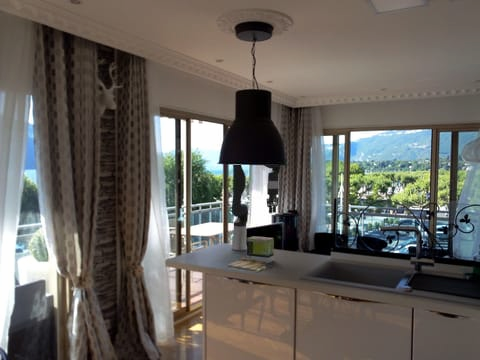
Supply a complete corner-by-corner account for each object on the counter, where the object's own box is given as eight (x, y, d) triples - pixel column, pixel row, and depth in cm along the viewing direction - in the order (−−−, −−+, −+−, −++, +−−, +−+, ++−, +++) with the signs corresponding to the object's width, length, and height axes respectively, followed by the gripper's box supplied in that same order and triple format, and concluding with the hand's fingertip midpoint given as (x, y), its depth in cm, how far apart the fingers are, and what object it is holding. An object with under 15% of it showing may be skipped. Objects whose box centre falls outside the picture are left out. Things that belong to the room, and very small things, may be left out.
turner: (259, 272, 228) (259, 270, 228) (253, 271, 230) (253, 269, 230) (272, 266, 242) (272, 264, 242) (267, 265, 244) (267, 263, 244)
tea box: (273, 260, 258) (274, 237, 257) (267, 263, 249) (268, 240, 248) (252, 257, 265) (253, 235, 264) (246, 260, 256) (246, 237, 255)
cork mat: (227, 266, 241) (227, 263, 241) (241, 261, 255) (241, 258, 255) (253, 270, 232) (254, 267, 232) (266, 265, 245) (266, 262, 245)
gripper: (272, 187, 277) (272, 211, 278) (263, 187, 265) (262, 213, 265) (282, 187, 273) (282, 212, 274) (273, 188, 261) (272, 214, 261)
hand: (272, 212), depth 270 cm, fingers open, 5 cm apart
